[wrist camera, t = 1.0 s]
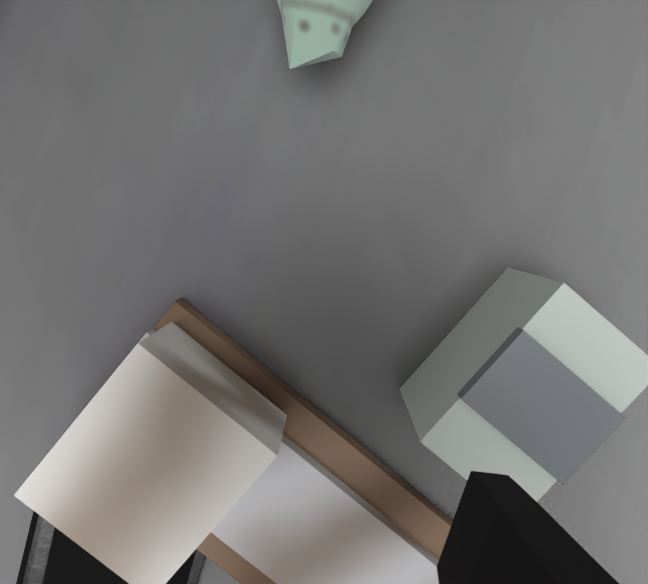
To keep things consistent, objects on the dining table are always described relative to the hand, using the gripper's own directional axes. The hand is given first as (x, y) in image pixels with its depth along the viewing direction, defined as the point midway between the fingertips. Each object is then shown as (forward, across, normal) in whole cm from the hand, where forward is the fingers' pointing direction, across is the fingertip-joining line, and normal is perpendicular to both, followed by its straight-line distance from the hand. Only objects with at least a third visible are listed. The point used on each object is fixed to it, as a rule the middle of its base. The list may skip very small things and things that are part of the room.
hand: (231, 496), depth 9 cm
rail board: (+13, -5, +13) cm, 19 cm away
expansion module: (+14, -10, +4) cm, 18 cm away
